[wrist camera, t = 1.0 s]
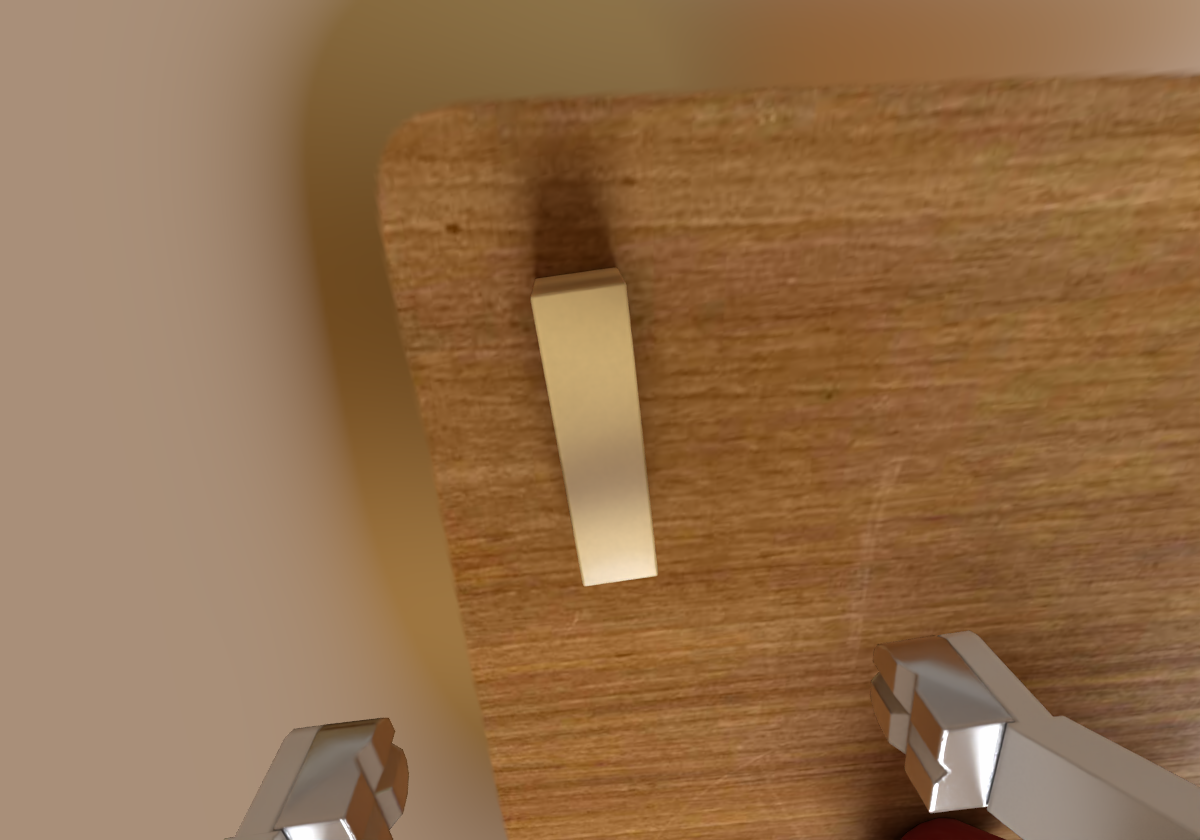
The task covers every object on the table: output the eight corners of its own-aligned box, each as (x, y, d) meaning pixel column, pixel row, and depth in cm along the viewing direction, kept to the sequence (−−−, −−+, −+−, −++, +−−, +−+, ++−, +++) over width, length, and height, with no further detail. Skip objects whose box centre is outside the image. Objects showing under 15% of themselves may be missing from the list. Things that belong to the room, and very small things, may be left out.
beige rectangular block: (534, 278, 17) (529, 295, 15) (617, 266, 17) (626, 281, 15) (580, 541, 21) (583, 587, 19) (648, 531, 21) (658, 576, 19)
